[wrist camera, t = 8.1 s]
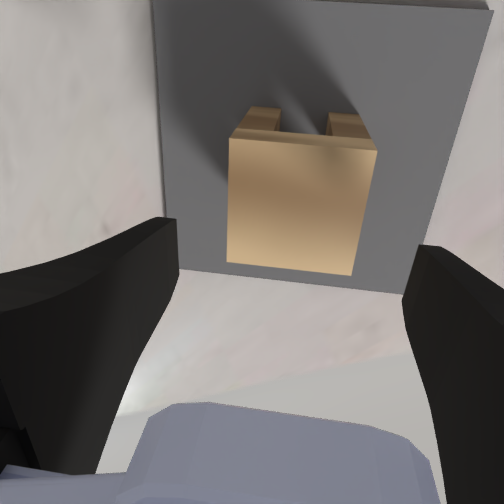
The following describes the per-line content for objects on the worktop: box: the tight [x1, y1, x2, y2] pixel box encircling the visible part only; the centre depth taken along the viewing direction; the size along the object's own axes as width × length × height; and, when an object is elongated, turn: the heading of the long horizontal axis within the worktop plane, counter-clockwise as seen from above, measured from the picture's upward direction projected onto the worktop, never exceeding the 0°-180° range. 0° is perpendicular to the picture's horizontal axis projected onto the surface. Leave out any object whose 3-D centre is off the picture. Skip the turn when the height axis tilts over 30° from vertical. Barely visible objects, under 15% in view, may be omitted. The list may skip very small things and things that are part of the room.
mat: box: [153, 0, 494, 295], centre depth 20 cm, size 14×14×1 cm
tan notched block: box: [227, 106, 377, 276], centre depth 17 cm, size 5×5×6 cm
